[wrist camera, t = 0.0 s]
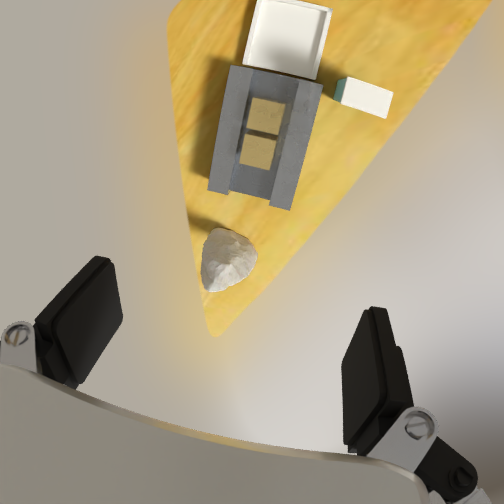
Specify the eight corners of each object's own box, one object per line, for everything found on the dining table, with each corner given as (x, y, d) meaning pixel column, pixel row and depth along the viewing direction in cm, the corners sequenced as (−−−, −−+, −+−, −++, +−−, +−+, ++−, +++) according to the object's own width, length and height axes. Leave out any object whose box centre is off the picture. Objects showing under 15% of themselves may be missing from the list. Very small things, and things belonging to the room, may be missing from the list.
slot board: (236, 66, 39) (230, 64, 35) (321, 85, 39) (323, 85, 35) (214, 181, 48) (207, 190, 45) (291, 200, 48) (289, 210, 44)
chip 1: (257, 96, 39) (252, 97, 36) (286, 103, 39) (284, 104, 35) (251, 124, 41) (246, 127, 38) (280, 130, 41) (277, 134, 37)
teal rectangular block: (337, 79, 38) (347, 76, 28) (373, 90, 38) (393, 92, 28) (332, 100, 39) (340, 103, 30) (367, 111, 39) (385, 118, 30)
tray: (260, -4, 33) (258, -7, 32) (331, 11, 33) (332, 8, 31) (244, 64, 39) (242, 63, 37) (315, 80, 38) (315, 79, 37)
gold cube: (250, 129, 41) (245, 133, 38) (278, 136, 41) (276, 141, 38) (244, 156, 43) (238, 163, 40) (272, 163, 43) (269, 170, 40)
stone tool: (210, 233, 53) (179, 285, 40) (217, 218, 51) (187, 268, 38) (255, 257, 54) (238, 316, 41) (264, 243, 52) (249, 300, 39)
